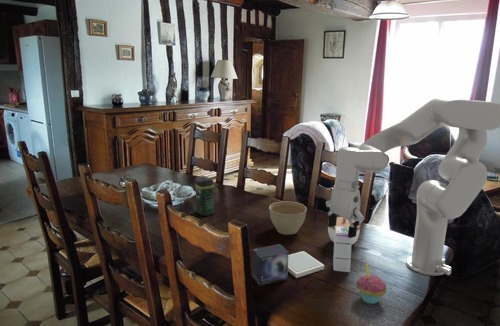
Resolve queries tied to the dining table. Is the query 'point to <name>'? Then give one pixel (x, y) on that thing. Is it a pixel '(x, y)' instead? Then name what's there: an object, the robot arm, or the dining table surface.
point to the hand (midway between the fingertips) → (341, 231)
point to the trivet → (303, 264)
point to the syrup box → (342, 250)
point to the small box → (270, 264)
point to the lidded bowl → (342, 223)
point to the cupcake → (371, 287)
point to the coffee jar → (204, 195)
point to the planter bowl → (287, 216)
